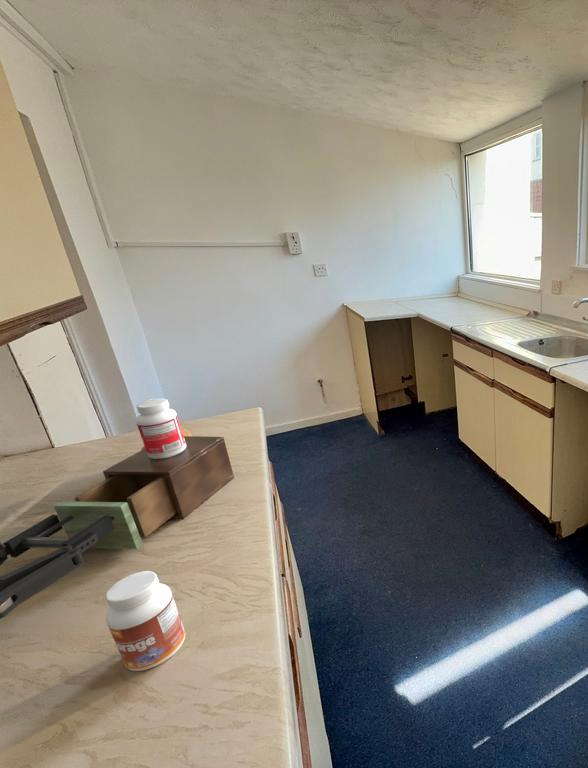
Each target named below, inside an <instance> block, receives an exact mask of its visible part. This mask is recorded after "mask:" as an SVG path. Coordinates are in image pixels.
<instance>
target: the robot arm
mask: <svg viewBox="0 0 588 768" xmlns="http://www.w3.org/2000/svg"><path fill="white" fill-rule="evenodd" d="M59 521H60V519H59V517H58V514H51V515H50V516H48V517H46V518H43V520H40V521H39V522H38V523H37V522H36V523H35V524H34V525H32V526H30V527H29V528H26V529H25V530H23V531H21V532H20V533H18V534H17V535H15V536H13V537H11V538H9V539H8V540H6V541H5V542H3V543H1V542H0V566H2V565H3V564H4V563H5V562H6V561H7V560H8V559H9V557H8V556H9V555H10V558H18V557H19V556H22V555H23V554H24V553H27V552H28V551H29V550H31V549H32V548H22V547H21V546H20V543H21V541H22V540H23V539H24V538H26V537H34V536H36V535H38V534H39V533H41V532H43V531H44V530H46V529H48V528H49V527H51V526H53V525H54V524H56V523H58V522H59ZM114 529H115V528H114V526H113V523H112V521H111V518H110V516H103V517H102V518H100V519H99V520H97V521H96V522H94V523H93V524H91V525H90V526H88V527H87V528H85V529H84V530H82V531H81V532H79V533H77V534H76V535H74V536H73V537H71V538H70V539H68V540H67V541H65V542H64V543H62V546H63V547H62V548H60V549H56V550H54V551H52V552H49V553H48V554H45V555H43V556H41V557H39V558H37V559H35V560H33V561H30V562H27V563H26V564H24V565H22V566H20V567H18V568H16V569H13V570H11V571H9V572H7V573H5V574H3V575H0V620H1V619H4V618H5V617H6V616H8V614H10V613H11V612H12V611H14V610H15V609H16V608H17V607H18V606H20V605H21V604H22V603H24V602H26V601H27V600H29V599H30V598H32V597H33V596H35V595H36V594H39V593H40V592H42V591H43V590H45V589H47V588H48V587H49V586H51V585H53V584H55V583H56V582H57V581H59V580H61V579H62V578H64V577H66V576H67V575H69V574H70V573H72V572H73V571H75V570H77V569H78V568H80V567H82V566H83V565H84V564H85V563H86V562H85V560H84V557H83V555H82V554H84V553H85V552H86V551H87V550H89V549H91V548H90V547H91V546H93V545H94V544H95V543H97V542H98V541H99V540H100V539H101V538H103V537H104V536H106V535H107V534H109V533H110V532H111V531H113V530H114ZM61 530H64V528H63V526H60V527H59V528H57V529H56V530H54V531H52V532H51V533H49V534H47V535H46V536H44V537H52V536H53V535H55V534H56V533H58V532H59V531H61Z"/></svg>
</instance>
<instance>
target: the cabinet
mask: <svg viewBox="0 0 588 768" xmlns="http://www.w3.org/2000/svg"><path fill="white" fill-rule="evenodd" d="M184 439H185V442H186V449H185V450H184V451H182V452H181V453H179V454H177V455H175V456H172V457H168V458H163V459H152V458H150V457H148V455H147V452H146V449H143V450H141V449H140V450H139V451H137V452H136V453H134V454H132V455H130V456H128V457H127V458H124V459H123V460H121V461H119V462H117V463H115V464H113V465H112V466H110V467H108V468H106V469H104V470H103V471H102V473H103V476H104V479H105V480H106V479H108V478H110V477H111V476H113V475H159V476H166V478H167V481H168V484H169V487H170V490H171V493H172V496H173V499H174V502H175V505H176V508H177V511H178V512H177V513H176V514H175V515H173V516H172V517H171V518H169V519H168V520H184V519H186V518H187V517H188V516H190V515H191V514H192V513H193V512H194V511H196V510H197V509H198V508H199V507H200V506H202V505H203V504H204V503H205V502H207V501H208V500H209V499H210V498H212V497H213V496H214V495H215V494H217V493H218V492H219V491H220V490H221V489H222V488H224V487H225V486H226V485H228V483H230V482H231V481H232V480H234V478H235V475H234V472H233V468H232V464H231V460H230V457H229V453H228V448H227V445H226V441H225V438H224V436H202V435H201V436H198V435H197V436H196V435H195V436H193V435H192V436H184Z"/></svg>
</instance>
